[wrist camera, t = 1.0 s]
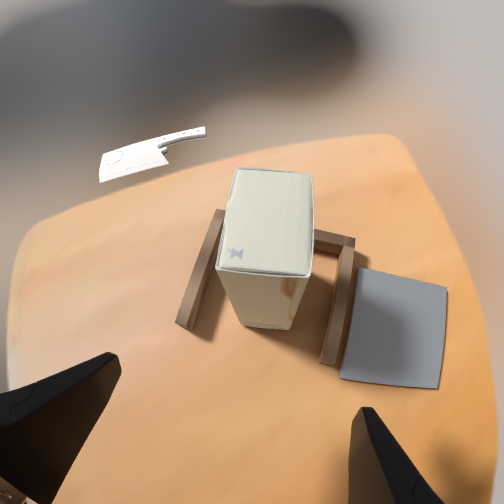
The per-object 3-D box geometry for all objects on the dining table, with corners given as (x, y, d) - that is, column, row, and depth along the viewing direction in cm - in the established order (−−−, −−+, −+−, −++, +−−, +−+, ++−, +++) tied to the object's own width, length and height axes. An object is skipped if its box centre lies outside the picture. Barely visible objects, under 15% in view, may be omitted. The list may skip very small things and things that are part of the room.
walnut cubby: (329, 364, 21) (335, 363, 19) (181, 326, 23) (174, 322, 21) (349, 248, 25) (355, 238, 23) (219, 220, 27) (216, 208, 26)
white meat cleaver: (208, 156, 32) (206, 149, 31) (100, 183, 32) (96, 178, 31) (205, 130, 34) (204, 124, 33) (105, 157, 34) (102, 152, 33)
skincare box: (290, 331, 22) (313, 286, 11) (239, 326, 23) (211, 276, 12) (296, 261, 25) (315, 169, 14) (249, 256, 26) (234, 164, 14)
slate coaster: (434, 388, 19) (437, 388, 18) (338, 377, 20) (340, 377, 20) (443, 289, 23) (446, 287, 22) (357, 269, 24) (359, 267, 24)
